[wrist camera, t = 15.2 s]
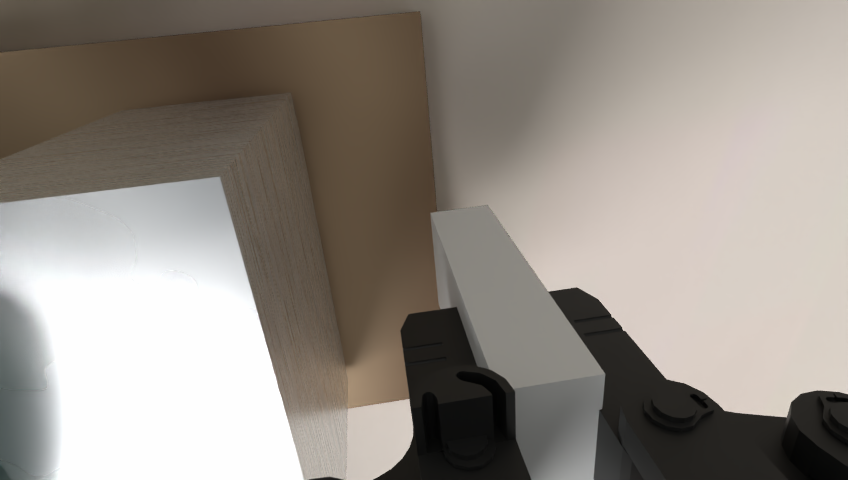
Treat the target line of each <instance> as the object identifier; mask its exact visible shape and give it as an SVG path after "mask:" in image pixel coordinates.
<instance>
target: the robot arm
mask: <svg viewBox="0 0 848 480" xmlns="http://www.w3.org/2000/svg"><path fill="white" fill-rule="evenodd" d="M430 214H431V225H432V236H433V247H434V258H435V269H436V280H437V291H438V302H439V306H440V309H439V310H432V311H426V312H419V313H412V314H408V316H407V318H406V320H405V322H404V324H403V326H402V328H401V330H400V332H401V340H402V347H403V355H404V362H405V370H406V377H407V384H408V392H409V399H410V406H411V413H412V421H413V439H412V442H411V445H410V448H409V449H408V451H407V452H406V454H405V455H404V457H403V459H402V460H401V461H400V462H398V463H397V464H396V465H395V466H394V467H393V468H392V469H391V470H389V471H388V472H386V473H384V474H383V475H381V476H379V477H378V478H376V479H374V480H848V394H844V393H840V392H830V391H813V392H808V393H803V394H800V395H799V396H798V397H797V398H796V399H795V400H794V401H792V402H791V405H790V409H789V412H788V415H787V418H786V417H774V416H763V415H752V414H741V413H733V412H727V411H724V410H723V409H722V408H721V407H720V406H719V405H718V404H717V403H716V402H715V401H713V400H712V399H711V398H710V397H708V396H707V395H706V394H705V393H703V392H701V391H699V390H697V389H695V388H693V387H691V386H689V385H686V384H684V383H680V382H675V381H671V380H666V378H665V377H664V376H663V375H662V374H661V373H660V371H659V370H658V369H657V368H656V367H655V366H654V364H653V363H652V362H651V361H650V360H649V359H648V357H647V356H646V355H645V354H644V353H643V351H642V350H641V349H640V348H639V347H638V346H637V344H636V343H635V342H634V341H633V340H632V339H631V337H630V336H629V335H628V334H627V333H626V332H625V331H623V330H622V327H621V326H620V325H619V323H618V322H617V321H616V320H615V319H614V318H612V317H611V314H610V313H609V312H608V310H607V309H606V308H605V307H604V306H603V305H602V303H601V302H600V301H599V300H598V299H597V298H595V297H593V296H591V295H589V294H588V293H586V292H584V291H582V290H581V289H579V288H571V289H564V290H557V291H550V292H548V291H547V289H546V288H545V287H544V285H543V284H542V282H541V281H540V279H539V278H538V277H537V275H536V274H535V272H534V271H533V269H532V268H531V266H530V265H529V264H528V262H527V261H526V259H525V258H524V256H523V255H522V254H521V252H520V251H519V249H518V248H517V246H516V245H515V243H514V242H513V241H512V239H511V238H510V236H509V235H508V233H507V232H506V231H505V229H504V228H503V226H502V225H501V223H500V222H499V220H498V219H497V218H496V216H495V215H494V213H493V212H492V210H491V209H490V208H489V206H488V205H485V206H478V207H470V208H462V209H455V210H447V211H440V212H432V213H430ZM309 480H343V479H338V478H334V477H322V478H315V479H309Z"/></svg>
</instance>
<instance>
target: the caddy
mask: <svg viewBox="0 0 848 480" xmlns="http://www.w3.org/2000/svg"><path fill="white" fill-rule="evenodd" d="M287 92H292V96H293V102H294V107H295V112H296V117H297V122H298V127H299V132H300V137H301V142H302V147H303V152H304V157H305V162H306V167H307V173H308V178H309V183H310V188H311V193H312V198H313V203H314V208H315V213H316V218H317V223H318V228H319V233H320V238H321V244H322V249H323V254H324V259H325V264H326V269H327V274H328V279H329V284H330V289H331V294H332V299H333V304H334V309H335V314H336V320H337V325H338V330H339V335H340V340H341V345H342V350H343V355H344V360H345V365H346V370H347V375H348V408H354V407H361V406H367V405H373V404H379V403H386V402H392V401H398V400H405V399H409V392H408V384H407V377H406V370H405V362H404V355H403V347H402V340H401V332H400V330H401V328H402V326H403V324H404V322H405V320H406V318H407V316H408V314H412V313H419V312H426V311H432V310H439V309H440V306H439V302H438V291H437V280H436V269H435V258H434V247H433V236H432V225H431V214H430V213H432V212H437V207H436V195H435V183H434V171H433V159H432V146H431V134H430V122H429V110H428V98H427V86H426V74H425V62H424V50H423V38H422V26H421V14H420V11H419V12H408V13H398V14H388V15H377V16H367V17H357V18H347V19H337V20H326V21H316V22H306V23H296V24H285V25H275V26H265V27H255V28H244V29H234V30H224V31H214V32H203V33H193V34H183V35H173V36H162V37H152V38H142V39H132V40H121V41H111V42H101V43H91V44H80V45H70V46H60V47H50V48H39V49H29V50H19V51H9V52H0V159H2V158H5V157H7V156H10V155H12V154H15V153H17V152H20V151H22V150H25V149H27V148H30V147H32V146H35V145H37V144H40V143H42V142H45V141H47V140H50V139H52V138H55V137H57V136H60V135H62V134H65V133H67V132H70V131H72V130H75V129H77V128H80V127H82V126H85V125H87V124H89V123H92V122H94V121H97V120H99V119H102V118H104V117H107V116H109V115H112V114H114V113H117V112H119V111H122V110H130V109H140V108H149V107H158V106H167V105H176V104H186V103H195V102H204V101H213V100H223V99H232V98H241V97H250V96H259V95H269V94H278V93H287Z"/></svg>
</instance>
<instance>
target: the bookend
mask: <svg viewBox="0 0 848 480" xmlns="http://www.w3.org/2000/svg"><path fill="white" fill-rule="evenodd" d="M347 415H348V375H347V370H346V365H345V360H344V355H343V350H342V345H341V340H340V335H339V330H338V325H337V320H336V314H335V309H334V304H333V299H332V294H331V289H330V284H329V279H328V274H327V269H326V264H325V259H324V254H323V249H322V244H321V238H320V233H319V228H318V223H317V218H316V213H315V208H314V203H313V198H312V193H311V188H310V183H309V178H308V173H307V167H306V162H305V157H304V152H303V147H302V142H301V137H300V132H299V127H298V122H297V117H296V112H295V107H294V102H293V96H292V92H287V93H278V94H269V95H259V96H250V97H241V98H232V99H223V100H213V101H204V102H195V103H186V104H176V105H167V106H158V107H149V108H140V109H130V110H122V111H119V112H117V113H114V114H112V115H109V116H107V117H104V118H102V119H99V120H97V121H94V122H92V123H89V124H87V125H85V126H82V127H80V128H77V129H75V130H72V131H70V132H67V133H65V134H62V135H60V136H57V137H55V138H52V139H50V140H47V141H45V142H42V143H40V144H37V145H35V146H32V147H30V148H27V149H25V150H22V151H20V152H17V153H15V154H12V155H10V156H7V157H5V158H2V159H0V463H1V465H2V466H3V468H4V470H5V471H6V473H7V474H8V476H9V477H10V479H11V480H309V479H315V478H322V477H334V478H338V479H343V480H346V464H347Z"/></svg>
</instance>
